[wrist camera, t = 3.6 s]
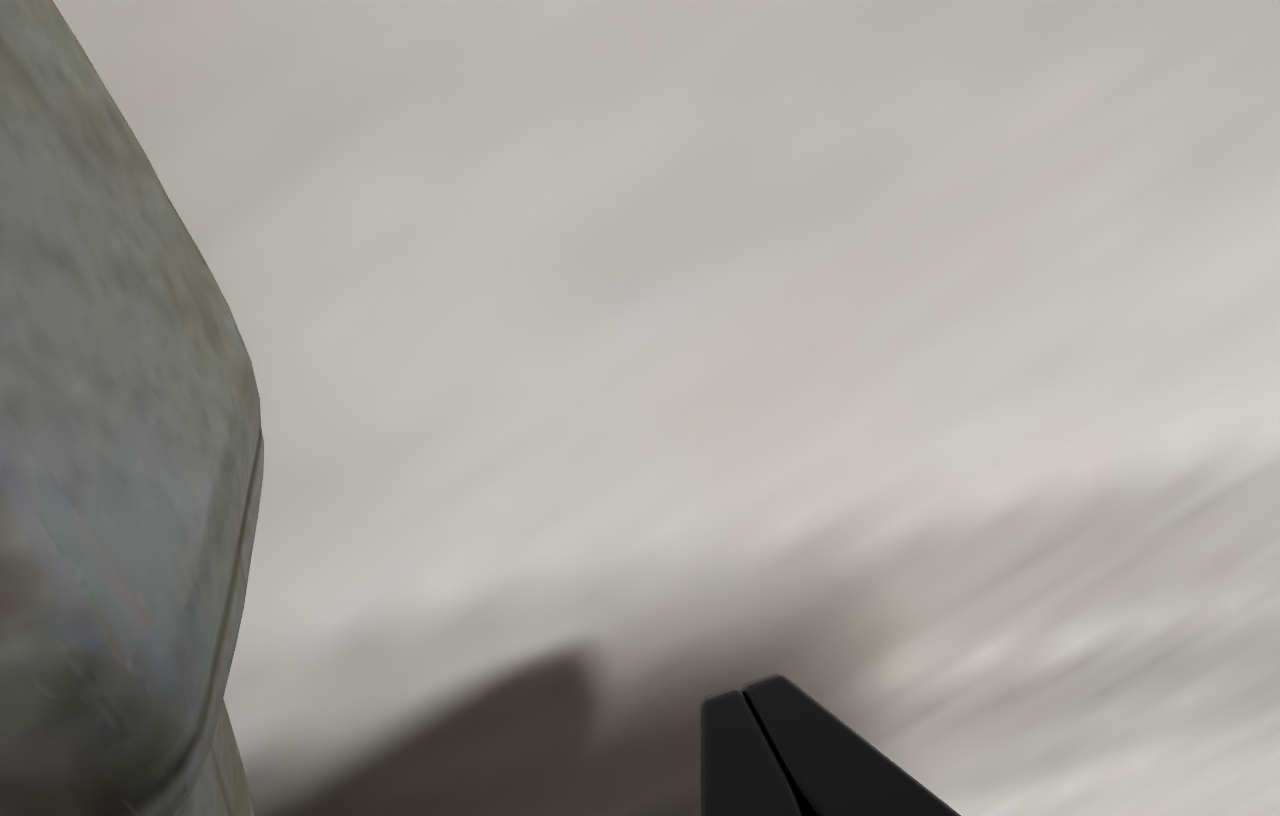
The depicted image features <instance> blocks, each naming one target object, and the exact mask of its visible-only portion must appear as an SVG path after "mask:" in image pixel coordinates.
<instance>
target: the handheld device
mask: <svg viewBox="0 0 1280 816" xmlns="http://www.w3.org/2000/svg"><path fill="white" fill-rule="evenodd" d="M263 462H264V441H263V436H262V430H261V417H260V398H259V394H258V390H257V385H256V381H255V376H254V372H253V367H252V363H251V360H250V357H249V355H248V352H247V350H246V347H245V345H244V342H243V340H242V337H241V335H240V333H239V330H238V328H237V325H236V323H235V320H234V318H233V315H232V313H231V310H230V308H229V306H228V304H227V302H226V300H225V298H224V296H223V294H222V292H221V290H220V288H219V286H218V284H217V282H216V281H215V279H214V277H213V275H212V273H211V271H210V269H209V267H208V266H207V264H206V262H205V260H204V258H203V256H202V255H201V253H200V251H199V249H198V248H197V246H196V244H195V242H194V241H193V239H192V237H191V236H190V234H189V232H188V230H187V229H186V227H185V225H184V224H183V222H182V220H181V218H180V217H179V215H178V213H177V212H176V210H175V208H174V206H173V205H172V203H171V201H170V200H169V198H168V196H167V194H166V192H165V190H164V189H163V187H162V185H161V183H160V181H159V179H158V177H157V175H156V173H155V171H154V169H153V167H152V165H151V163H150V161H149V159H148V158H147V156H146V154H145V152H144V150H143V149H142V147H141V145H140V144H139V142H138V140H137V139H136V137H135V135H134V133H133V132H132V130H131V128H130V127H129V125H128V123H127V122H126V120H125V118H124V117H123V115H122V113H121V112H120V110H119V108H118V107H117V105H116V104H115V102H114V100H113V99H112V97H111V95H110V94H109V92H108V91H107V89H106V87H105V86H104V84H103V82H102V81H101V79H100V77H99V75H98V74H97V72H96V70H95V69H94V67H93V65H92V63H91V62H90V60H89V58H88V57H87V55H86V53H85V52H84V50H83V48H82V46H81V45H80V43H79V42H78V40H77V39H76V37H75V35H74V34H73V32H72V31H71V29H70V27H69V26H68V24H67V23H66V21H65V20H64V18H63V16H62V15H61V13H60V12H59V10H58V8H57V7H56V5H55V4H54V2H53V0H0V816H255V813H254V809H253V805H252V801H251V797H250V793H249V789H248V784H247V780H246V776H245V772H244V768H243V764H242V761H241V757H240V754H239V750H238V747H237V744H236V740H235V737H234V733H233V730H232V726H231V723H230V720H229V716H228V713H227V710H226V706H225V703H224V700H223V696H224V692H225V688H226V684H227V680H228V675H229V671H230V667H231V663H232V659H233V655H234V651H235V646H236V642H237V637H238V632H239V627H240V623H241V618H242V613H243V608H244V602H245V595H246V588H247V582H248V575H249V568H250V562H251V555H252V549H253V543H254V537H255V530H256V524H257V518H258V511H259V503H260V495H261V487H262V479H263Z"/></svg>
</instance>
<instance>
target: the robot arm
mask: <svg viewBox="0 0 1280 816" xmlns="http://www.w3.org/2000/svg"><path fill="white" fill-rule="evenodd" d="M701 816H961V815H959V814H958V813H957V812H956V811H954V810H953V809H952V808H951V807H949V806H948V805H947V804H946V803H944V802H943V801H942V800H940V799H939V798H938V797H937V796H935V795H934V794H933V793H932V792H930V791H929V790H928V789H927V788H925V787H924V786H923V785H921V784H920V783H919V782H918V781H916V780H915V779H914V778H913V777H911V776H910V775H909V774H908V773H906V772H905V771H904V770H903V769H901V768H900V767H899V766H897V765H896V764H895V763H894V762H892V761H891V760H890V759H889V758H887V757H886V756H885V755H884V754H882V753H881V752H880V751H878V750H877V749H876V748H875V747H873V746H872V745H871V744H870V743H868V742H867V741H866V740H865V739H863V738H862V737H861V736H859V735H858V734H857V733H856V732H854V731H853V730H852V729H851V728H849V727H848V726H847V725H846V724H844V723H843V722H842V721H840V720H839V719H838V718H837V717H835V716H834V715H833V714H832V713H830V712H829V711H828V710H827V709H825V708H824V707H823V706H821V705H820V704H819V703H818V702H816V701H815V700H814V699H813V698H811V697H810V696H809V695H808V694H806V693H805V692H804V691H802V690H801V689H800V688H799V687H797V686H796V685H795V684H794V683H792V682H791V681H790V680H789V679H787V678H786V677H784V676H782V675H779V674H772V675H769V676H766V677H763V678H760V679H757V680H754V681H751V682H748V683H746V684H745V685H744V686H743V687H742V691H741V690H740V689H738V688H731V689H728V690H725V691H722V692H719V693H716V694H713V695H710V696H707V697H705V698H704V699H703V700H702V702H701Z"/></svg>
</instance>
